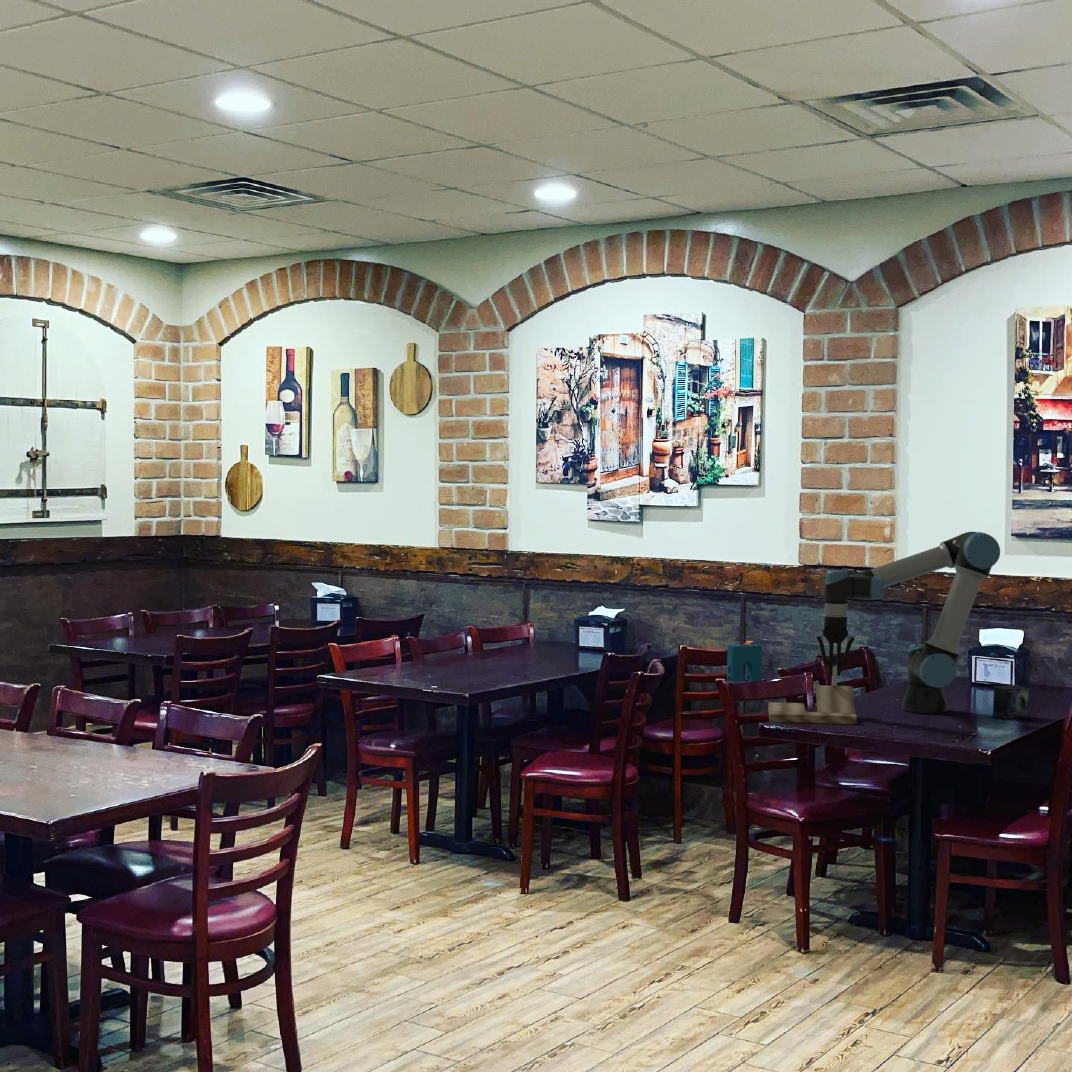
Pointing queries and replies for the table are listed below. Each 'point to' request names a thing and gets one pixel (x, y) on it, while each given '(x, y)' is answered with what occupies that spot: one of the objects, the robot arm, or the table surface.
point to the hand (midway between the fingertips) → (834, 685)
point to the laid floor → (812, 717)
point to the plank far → (786, 707)
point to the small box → (1010, 702)
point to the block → (741, 656)
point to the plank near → (835, 699)
